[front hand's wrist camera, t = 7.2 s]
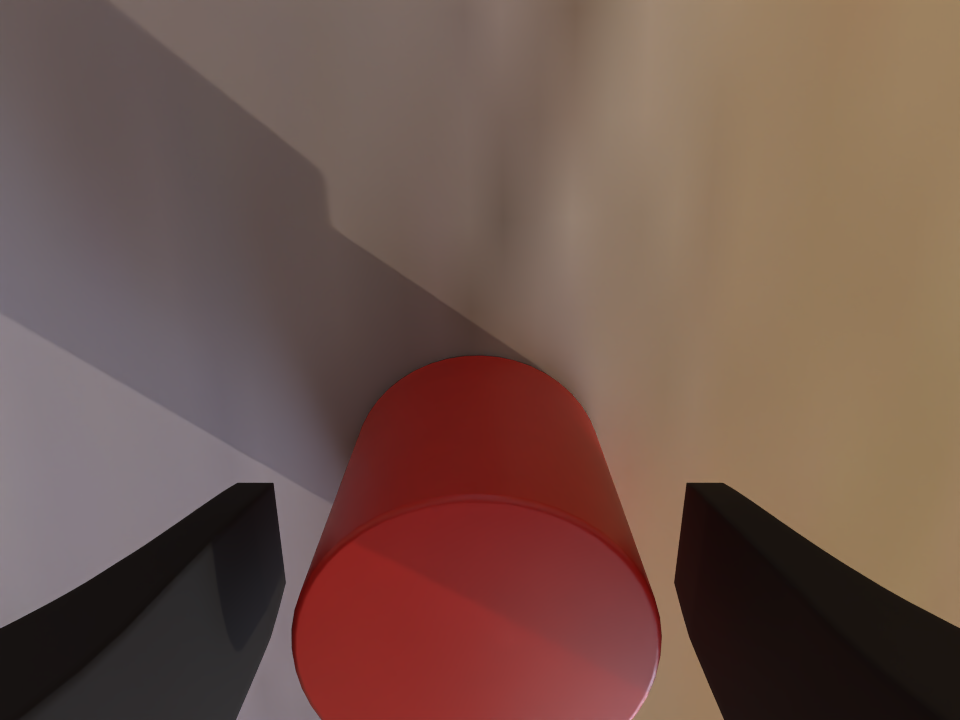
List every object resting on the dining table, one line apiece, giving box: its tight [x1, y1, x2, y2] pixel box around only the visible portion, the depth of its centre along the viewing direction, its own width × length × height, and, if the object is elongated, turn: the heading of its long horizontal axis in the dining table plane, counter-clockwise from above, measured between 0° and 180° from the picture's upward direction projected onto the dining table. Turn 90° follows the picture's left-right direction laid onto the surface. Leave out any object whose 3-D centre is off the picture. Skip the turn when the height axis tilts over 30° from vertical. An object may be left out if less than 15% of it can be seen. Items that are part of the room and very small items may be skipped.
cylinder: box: [292, 356, 662, 720], centre depth 11 cm, size 5×5×5 cm
